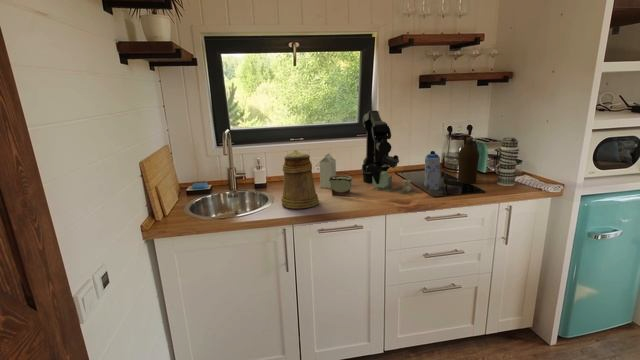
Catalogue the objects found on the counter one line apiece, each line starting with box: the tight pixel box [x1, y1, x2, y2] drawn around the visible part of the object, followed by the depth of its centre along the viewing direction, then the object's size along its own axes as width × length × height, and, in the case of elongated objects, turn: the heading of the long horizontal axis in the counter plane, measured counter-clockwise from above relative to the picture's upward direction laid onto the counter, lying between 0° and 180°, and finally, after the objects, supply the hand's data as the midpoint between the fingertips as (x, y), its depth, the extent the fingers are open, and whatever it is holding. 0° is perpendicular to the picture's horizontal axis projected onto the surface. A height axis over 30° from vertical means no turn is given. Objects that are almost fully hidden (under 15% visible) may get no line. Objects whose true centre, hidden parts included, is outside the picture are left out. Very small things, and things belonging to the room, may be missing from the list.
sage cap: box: [371, 171, 389, 188], centre depth 167 cm, size 6×6×7 cm
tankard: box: [281, 149, 320, 210], centre depth 170 cm, size 18×24×25 cm
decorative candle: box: [496, 136, 520, 187], centre depth 185 cm, size 9×9×25 cm
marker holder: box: [371, 179, 421, 196], centre depth 182 cm, size 22×12×7 cm, turn 56°
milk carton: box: [318, 152, 337, 189], centre depth 196 cm, size 7×7×19 cm
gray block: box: [378, 174, 393, 190], centre depth 185 cm, size 6×6×7 cm
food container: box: [329, 174, 353, 198], centre depth 181 cm, size 12×6×10 cm, turn 71°
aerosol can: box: [423, 150, 441, 191], centre depth 185 cm, size 8×8×20 cm
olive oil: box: [457, 136, 480, 185], centre depth 193 cm, size 11×11×25 cm
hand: (380, 182), depth 167 cm, fingers closed on sage cap, 6 cm apart
